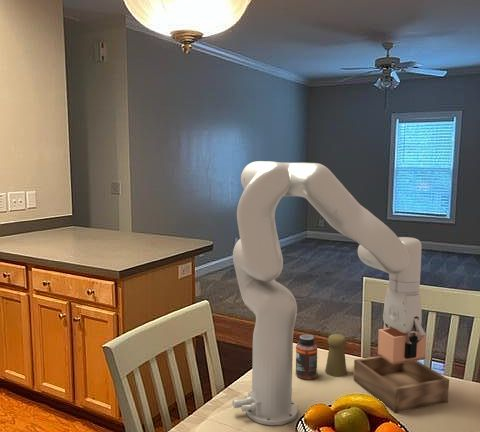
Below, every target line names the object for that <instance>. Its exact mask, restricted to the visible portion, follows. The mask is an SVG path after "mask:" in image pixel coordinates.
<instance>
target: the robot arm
mask: <svg viewBox="0 0 480 432" xmlns="http://www.w3.org/2000/svg"><path fill="white" fill-rule="evenodd" d="M240 183H241V186H242V188H243V191H242V194H241V196H240V198H239V201H238V204H237V208H236V209H237V210H236V221H237V229H238V233H239V239H238V240H237V241H236V243H235V245H234V247H233V250H232V260H233V266H234V271H235V275H236V279H237V284H238V288H239V292H240V296H241V298H242V301H243V303H244V305H245V306H246V308H248V310H250V312H252V314H254V316H255V324H254V329H253V333H252V334H253V335H252V372H251V375H252V376H251V377H252V378H251V379H252V381H251V383H252V384H251V387H252V388H251V390H249V391H248V393H247V394H248V396H245V397H244V398H237V399H236V398H235V399H232V401H231V402H232V407H233V409H238V408H240V411H241V412H242V413H243V412H245V414H246V416H247V417H248V418H250V420H252V421H253V422H255V423H259V424H261V425H265V426H266V425H268V426H279V425H280V426H281V425H286V424H289V423H290V422H293V421H294V420H295V419H296V418H297V417H298V414H299V412H298V411H299V408H298V405H297V403H296V402H294V400H292V398H293V397H292V394H293V392H292V391H293V360H294V359H293V354H294V353H293V352H294V351H293V349H294V344H293V343H294V330H295V324H296V319H297V314H298V305H297V301H296V297H295V296H294V294H293V292H291V291H290V289H288V288H287V287H286V286H285V285H283V284H282V283H280V282H278V281H276V279H277V278H278V277H279V276H280V274H281V273H282V271H283V268H284V267H283V266H284V257H283V253H282V249H281V245H280V240H279V234H278V231H277V225H276V219H275V218H276V215H275V214H276V210H277V207H278V205H279V203H280V201H281V199H282V198H283V197H300V198H304V199H305V200H307V201H308V203H309V204H311V206H312V207H313V208H314V209H315V210H316V211H317V212H318V213H319V214H320V216H321V217H323V219H324V220H325V221H326V222H327V223H328V224H329V226H331V228H333V229H334V230H336V231H337V232H339V233H340V235H341V234H342V235H343V236H345V237H347V238H349V239H351V240H353V241H354V242H356V243H357V244H358V247H357V256H358V258H359V260H360V261H361V262H362V263H363V264H365V265H366V266H368V267H371V268H373V269H376V270H380V271H382V272H384V273H387V274H388V278H389V279H388V287H387V288H386V292H385V298H384V304H383V305H384V306H383V313H382V316H381V317H382V318H383V319H382V320H383V323H384V325H385V328H394V329H396V330H398V331H400V332H402V333H404V334H405V335H406V340H407V343H405V358H406V359H409V358H415V357H416V353H417V343H419V341H420V340H421V338H423V337H424V336H425V333H426V332H425V331H424V328H423V327H422V322H423V321H422V318H423V317H422V316H423V315H422V314H423V312H422V300H421V293H420V288H421V270H422V268H421V267H422V241H420V240H419V239H417V238H415V237H406V236H399V237H398V236H397V234H396V233H395V232H394V231H393V230H392V229H391V228H390V227H389V226H388V225H386V224H385V223H384V222H383V221H381V220H380V219H379V218H378V217H376V216H375V214H373V213H372V212H371V211H369V210H368V209H367V208H366V207H364V206H363V205H361V204H360V203H359V202H358V201H357V199H356V198H355V197H354V196H353V195H352V194H351V192H350V191H348V189H347V188H346V187H345V186H344V184H343V183H342V182H341V181H340V180H339V179H338V178H337V177H336V175H335V174H334V173H333V172H332V171H331V170H330V169H329V168H328V167H327V166H325V165H323V164H321V163H317V162H278V161H271V160H270V161H269V160H267V161H264V160H260V161H259V160H258V161H252V162H250V163H248V164H247V165H246V166H245V167H244V168H243V170H242V173H241V175H240ZM411 330H412V331H411ZM410 333H412V334H413V337H412V338H411V337H410Z"/></svg>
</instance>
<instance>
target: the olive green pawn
mask: <svg viewBox="0 0 480 432" xmlns="http://www.w3.org/2000/svg"><path fill="white" fill-rule="evenodd" d="M327 344H328V346H329V348H328V352H327V360H326V364H325V370H324V371H325V374H326V375H328V376H329V377H333V378H343V377H346V376H347V374H348V373H347V363H346V351H345V347H346V346H347V339H346V337H345V336H344V335H342V334H341V333H339V334H338V333H331V334H330V335H329V336H328V338H327Z"/></svg>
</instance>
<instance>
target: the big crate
mask: <svg viewBox="0 0 480 432" xmlns="http://www.w3.org/2000/svg"><path fill="white" fill-rule="evenodd" d="M353 363H354V364H353V381H354V382H355V383H356V384H357V385H358V386H360V387H361V388H362V389H364V390H365V391H366V392H368V394H369V395H371V396H372V397H374V398H375V399H376V398H377V399H376V400H378V399H379V400H380V401H382V402H383V403H384V404H385V405H384V404H383V403H382V404H383V405H384V406H385V407H386V408H388V409H389V410H390V411H392V412H393V413H394V414H397V413H402V412H406V411H412V410H416V409H423V408H427V407H432V406H437V405H443V404H447V403H448V402H449V389H450V379H448V378H447V377H445V376H443V375H442V374H440V373H439V372H437V371H435V370H434V369H431V368H430V367H428V366H427V365H426V364H423V362H421V361H419V360H417V361H411V362H406V363H400V364H394V365H393V364H391V363H390V362H388V361H386V360H385V359H383V358H382V357H380V356H379V355H377V356H371V357H370V356H369V357H364V358H357V359H354V362H353ZM379 400H378V401H379ZM380 401H379V402H380Z"/></svg>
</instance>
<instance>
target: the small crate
mask: <svg viewBox="0 0 480 432" xmlns="http://www.w3.org/2000/svg"><path fill="white" fill-rule="evenodd" d="M411 331H412V330H411ZM377 333H378V338H377V339H378V342H377V345H378V346H377V356H380V357H382V358H383V359H385V360H386V361H388V362H390V363H391V364H393V365H394V364H400V363H406V362H411V361H423V360H426V354H427V353H426V350H427V335H428V334H427V332H425V336H424V337H423V338H421V340H420V341H419V343H417V353H416V357H415V358H409V359H406V358H405V343H407V340H406V335H405V334H404V333H402V332H400V331H398V330H396V329H394V328H387V327H385V328H381V329H378V332H377ZM410 337H411V338H412V337H413V334H412V333H410Z"/></svg>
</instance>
